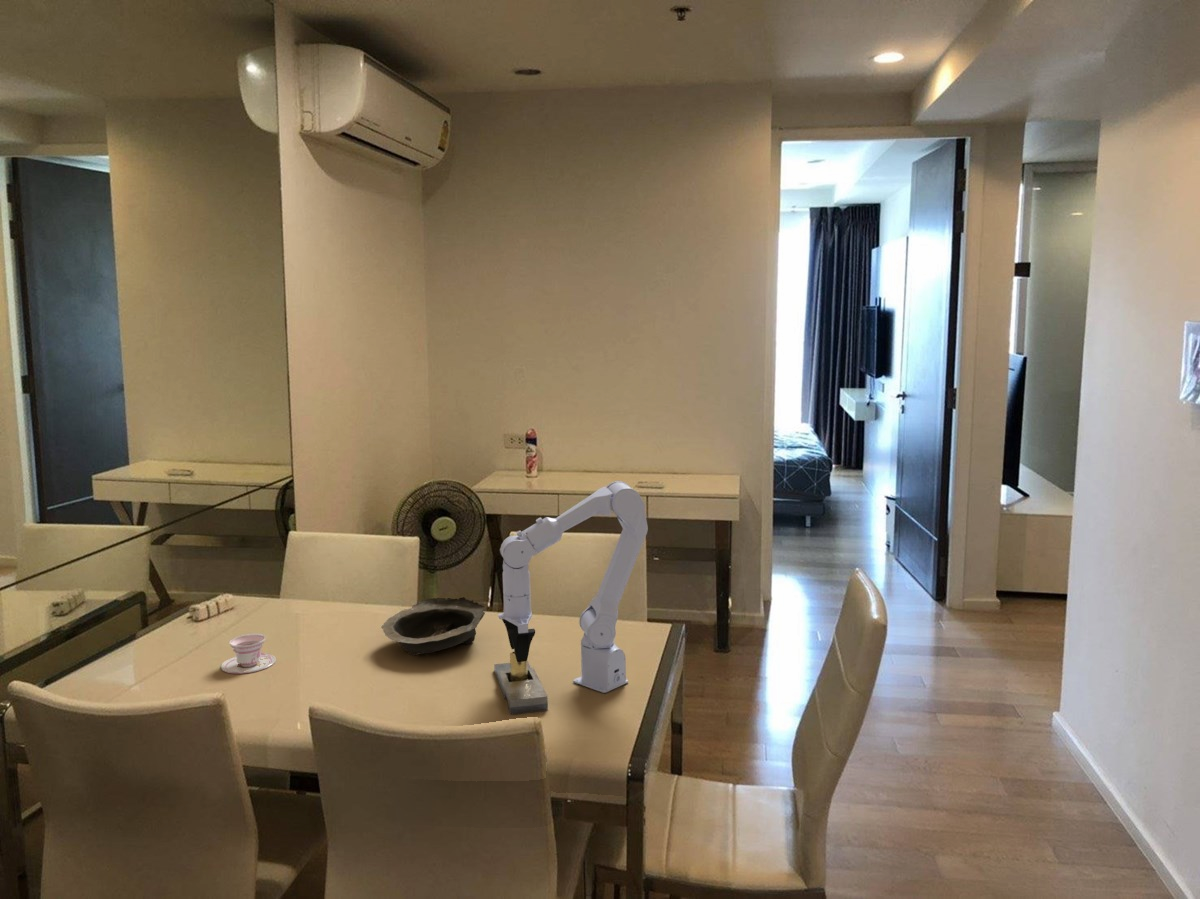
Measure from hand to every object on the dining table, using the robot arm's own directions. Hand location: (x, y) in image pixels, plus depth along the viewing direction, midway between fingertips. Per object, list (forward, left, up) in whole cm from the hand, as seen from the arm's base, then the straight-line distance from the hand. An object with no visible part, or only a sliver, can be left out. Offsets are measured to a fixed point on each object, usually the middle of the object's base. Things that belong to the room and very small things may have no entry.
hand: (518, 654), depth 197 cm
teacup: (+59, +32, -8) cm, 67 cm away
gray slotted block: (0, 0, -8) cm, 8 cm away
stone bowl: (+35, -4, -8) cm, 36 cm away
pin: (0, 0, -8) cm, 8 cm away
